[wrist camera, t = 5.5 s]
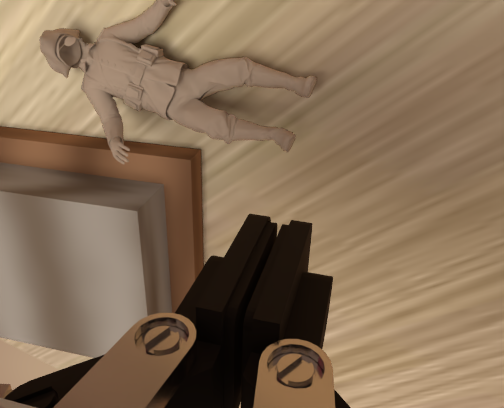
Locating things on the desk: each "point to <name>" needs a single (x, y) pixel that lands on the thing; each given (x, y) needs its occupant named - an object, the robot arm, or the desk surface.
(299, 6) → the desk surface
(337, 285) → the desk surface
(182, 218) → the tower pedestal
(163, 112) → the soldier figure
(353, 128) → the desk surface
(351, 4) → the desk surface
